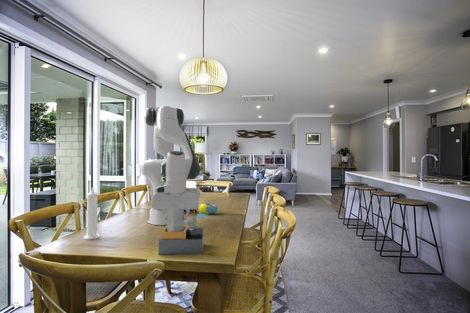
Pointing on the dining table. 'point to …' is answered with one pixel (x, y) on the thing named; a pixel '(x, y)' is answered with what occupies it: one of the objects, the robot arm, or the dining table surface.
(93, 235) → the candle
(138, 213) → the dining table surface
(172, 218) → the skincare box
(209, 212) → the blue and yellow piece
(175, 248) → the grey and orange organizer
